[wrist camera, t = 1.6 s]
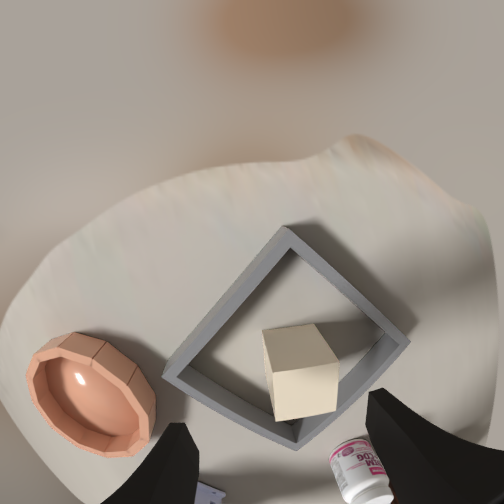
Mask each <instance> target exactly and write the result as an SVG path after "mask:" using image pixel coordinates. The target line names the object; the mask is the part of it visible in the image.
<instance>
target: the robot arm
mask: <svg viewBox="0 0 504 504" xmlns="http://www.w3.org/2000/svg"><path fill="white" fill-rule="evenodd" d="M365 425H366V428H367V431H368V434H369V437H370V439H371V442H372V445H373V447H374V449H375V451H376V453H377V455H378V457H379V459H380V461H381V463H382V465H383V467H384V469H385V471H386V473H387V475H388V477H389V479H390V481H391V483H392V485H393V488H394V490H395V493H396V496H397V499H398V502H399V504H504V451H502V450H496V449H492V448H487V447H484V446H481V445H478V444H475V443H471V442H468V441H466V440H463V439H461V438H458V437H456V436H454V435H452V434H450V433H448V432H446V431H444V430H442V429H440V428H439V427H437V426H435V425H434V424H432V423H430V422H429V421H427V420H426V419H424V418H423V417H421V416H420V415H418V414H417V413H415V412H414V411H413V410H411V409H410V408H408V407H407V406H406V405H405V404H403V403H402V402H401V401H399V400H398V399H397V398H396V397H394V396H393V395H392V394H391V393H389V392H388V391H387V390H386V389H384V388H380V389H377V390H374V391H370V392H369V395H368V406H367V415H366V423H365ZM198 477H199V450H198V448H197V446H196V444H195V443H194V441H193V439H192V437H191V435H190V433H189V430H188V428H187V426H186V424H185V423H170V424H169V425H168V427H167V428H166V430H165V431H164V433H163V434H162V436H161V437H160V438H159V440H158V441H157V443H156V444H155V446H154V447H153V449H152V450H151V451H150V453H149V454H148V455H147V457H146V458H145V459H144V461H143V462H142V463H141V465H140V466H139V467H138V468H137V469H136V470H135V472H134V473H133V474H132V475H131V476H130V477H129V478H128V480H127V481H126V482H125V483H124V484H123V485H122V486H121V487H120V488H119V489H117V490H116V491H115V492H114V493H113V494H112V495H111V496H109V497H108V498H107V499H106V500H105V501H103V502H102V503H101V504H222V499H221V498H223V497H225V496H226V493H225V492H223V491H220V490H217V489H215V488H212V487H210V486H207V485H205V484H202V483H200V482H198Z"/></svg>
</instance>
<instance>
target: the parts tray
mask: <svg viewBox="0 0 504 504" xmlns="http://www.w3.org/2000/svg"><path fill="white" fill-rule="evenodd" d="M289 248H291V249H292V250H293V251H294V252H296V253H297V254H298V255H299V256H300V257H301V258H302V259H304V260H305V261H306V262H307V263H308V264H309V265H311V266H312V267H313V268H314V269H315V270H316V271H317V272H319V273H320V274H321V275H322V276H323V277H324V278H325V279H327V280H328V281H329V282H330V283H331V284H332V285H333V286H334V287H336V288H337V289H338V290H339V291H340V292H341V293H342V294H343V295H345V296H346V297H347V298H348V299H349V300H350V301H351V302H352V303H354V304H355V305H356V306H357V307H358V308H359V309H360V310H361V311H362V312H364V313H365V314H366V315H367V316H368V317H369V318H370V319H371V320H372V321H374V322H375V323H376V324H377V325H378V326H379V327H380V328H381V329H382V330H383V331H384V332H386V333H385V334H384V335H383V336H382V337H381V339H380V340H379V341H378V342H377V343H376V344H375V345H374V346H373V348H372V349H371V350H370V351H369V352H368V353H367V354H366V355H365V356H364V357H363V359H362V360H361V361H360V362H359V363H358V364H357V365H356V366H355V367H354V368H353V369H352V370H351V371H350V372H349V373H348V374H347V375H346V376H345V377H344V378H343V379H342V380H341V381H340V382H339V383H338V393H337V405H336V411H333V412H329V413H324V414H319V415H314V416H308V417H303V418H300V419H299V420H298V421H297V422H295V423H294V424H293V425H292V426H291V425H289V424H287V423H285V422H283V421H277V422H276V421H275V417H273V416H271V415H270V414H268V413H266V412H264V411H262V410H260V409H259V408H257V407H255V406H253V405H252V404H250V403H248V402H246V401H245V400H243V399H241V398H240V397H238V396H236V395H235V394H233V393H231V392H230V391H228V390H226V389H225V388H223V387H221V386H220V385H218V384H217V383H215V382H214V381H212V380H210V379H209V378H207V377H206V376H204V375H203V374H201V373H200V372H198V371H197V370H195V369H194V368H192V367H191V366H189V365H188V364H189V362H190V361H191V360H192V359H193V358H194V357H195V356H196V355H197V354H198V352H199V351H200V350H201V349H202V348H203V347H204V346H205V345H206V344H207V342H208V341H209V340H210V339H211V338H212V337H213V336H214V335H215V333H216V332H217V331H218V330H219V329H220V328H221V327H222V326H223V324H224V323H225V322H226V321H227V320H228V319H229V318H230V317H231V315H232V314H233V313H234V312H235V311H236V310H237V309H238V307H239V306H240V305H241V304H242V303H243V302H244V301H245V299H246V298H247V297H248V296H249V295H250V294H251V292H252V291H253V290H254V289H255V288H256V287H257V286H258V284H259V283H260V282H261V281H262V280H263V279H264V277H265V276H266V275H267V274H268V273H269V272H270V270H271V269H272V268H273V267H274V266H275V265H276V263H277V262H278V261H279V260H280V259H281V258H282V256H283V255H284V254H285V253H286V252H287V250H288V249H289ZM410 342H411V341H410V340H409V339H408V338H407V337H406V336H405V335H404V334H403V333H402V332H401V331H400V330H399V329H398V328H397V327H396V326H395V325H393V324H392V323H391V322H390V321H389V320H388V319H387V318H386V317H385V316H384V315H383V314H382V313H381V312H380V311H379V310H378V309H377V308H376V307H375V306H374V305H373V304H372V303H370V302H369V301H368V300H367V299H366V298H365V297H364V296H363V295H362V294H361V293H360V292H359V291H358V290H357V289H356V288H354V287H353V286H352V285H351V284H350V283H349V282H348V281H347V280H346V279H345V278H344V277H343V276H341V275H340V274H339V273H338V272H337V271H336V270H335V269H334V268H333V267H332V266H330V265H329V264H328V263H327V262H326V261H325V260H324V259H323V258H322V257H320V256H319V255H318V254H317V253H316V252H315V251H314V250H313V249H312V248H310V247H309V246H308V245H307V244H306V243H305V242H304V241H302V240H301V239H300V238H299V237H298V236H297V235H296V234H294V233H293V232H292V231H291V230H290V229H288V228H286V227H284V226H282V227H281V228H280V229H279V230H278V231H277V233H276V234H275V235H274V236H273V237H272V238H271V240H270V241H269V242H268V243H267V244H266V246H265V247H264V248H263V249H262V250H261V251H260V253H259V254H258V255H257V256H256V257H255V259H254V260H253V261H252V262H251V263H250V264H249V266H248V267H247V268H246V269H245V270H244V272H243V273H242V274H241V275H240V276H239V277H238V279H237V280H236V281H235V282H234V283H233V284H232V286H231V287H230V288H229V289H228V290H227V292H226V293H225V294H224V295H223V296H222V297H221V299H220V300H219V301H218V302H217V303H216V304H215V306H214V307H213V308H212V309H211V310H210V312H209V313H208V314H207V315H206V316H205V317H204V319H203V320H202V321H201V322H200V323H199V324H198V326H197V327H196V328H195V329H194V330H193V331H192V333H191V334H190V335H189V336H188V337H187V338H186V340H185V341H184V342H183V343H182V344H181V345H180V347H179V348H178V349H177V350H176V351H175V352H174V354H173V355H172V356H171V357H170V358H169V359H168V361H167V363H166V366H165V369H164V371H163V374H162V378H163V379H165V380H166V381H168V382H169V383H171V384H172V385H174V386H175V387H177V388H178V389H180V390H181V391H183V392H184V393H186V394H188V395H189V396H191V397H192V398H194V399H196V400H197V401H199V402H201V403H202V404H204V405H206V406H207V407H209V408H211V409H212V410H214V411H216V412H218V413H219V414H221V415H223V416H225V417H227V418H228V419H230V420H232V421H234V422H236V423H238V424H240V425H242V426H243V427H245V428H247V429H249V430H251V431H253V432H255V433H257V434H259V435H261V436H263V437H266V438H268V439H270V440H272V441H274V442H276V443H278V444H281V445H283V446H285V447H287V448H290V449H292V450H294V451H297V450H299V449H300V448H301V447H303V446H304V445H305V444H307V443H308V442H309V441H310V440H312V439H313V438H314V437H315V436H317V435H318V434H319V433H320V432H321V431H323V430H324V429H325V428H326V427H327V426H329V425H330V424H331V423H332V422H333V421H334V420H335V419H337V418H338V417H339V416H340V415H341V414H342V413H343V412H344V411H346V410H347V409H348V408H349V407H350V406H351V405H352V404H353V403H354V402H355V401H356V400H357V399H358V398H359V397H360V396H361V395H362V394H363V393H364V392H366V391H367V390H368V389H369V388H370V387H371V385H372V384H373V383H374V382H375V381H376V380H377V379H378V378H379V377H380V376H381V375H382V374H383V373H384V372H385V371H386V370H387V369H388V368H389V367H390V365H391V364H392V363H393V362H394V361H395V360H396V359H397V358H398V356H399V355H400V354H401V353H402V352H403V351H404V350H405V348H406V347H407V346H408V345H409V344H410Z"/></svg>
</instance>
